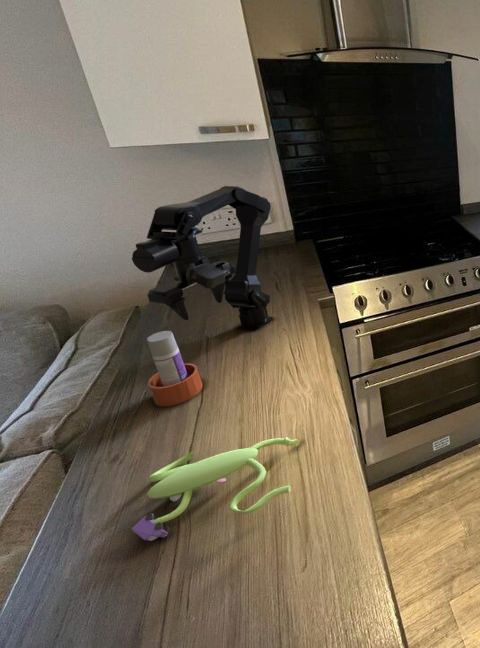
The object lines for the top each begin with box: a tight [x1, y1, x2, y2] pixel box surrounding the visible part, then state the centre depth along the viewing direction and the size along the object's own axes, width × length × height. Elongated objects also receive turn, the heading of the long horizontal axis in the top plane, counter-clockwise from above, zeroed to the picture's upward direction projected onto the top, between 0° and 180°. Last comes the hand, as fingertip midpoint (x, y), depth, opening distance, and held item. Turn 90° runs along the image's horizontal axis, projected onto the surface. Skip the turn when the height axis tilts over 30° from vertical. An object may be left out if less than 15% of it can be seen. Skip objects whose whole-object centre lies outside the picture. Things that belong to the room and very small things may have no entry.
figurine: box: [131, 437, 301, 542], centre depth 78 cm, size 18×27×6 cm
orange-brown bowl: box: [147, 363, 204, 407], centre depth 103 cm, size 9×9×5 cm
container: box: [146, 330, 188, 387], centre depth 101 cm, size 5×5×15 cm
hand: (203, 310), depth 114 cm, fingers open, 9 cm apart
